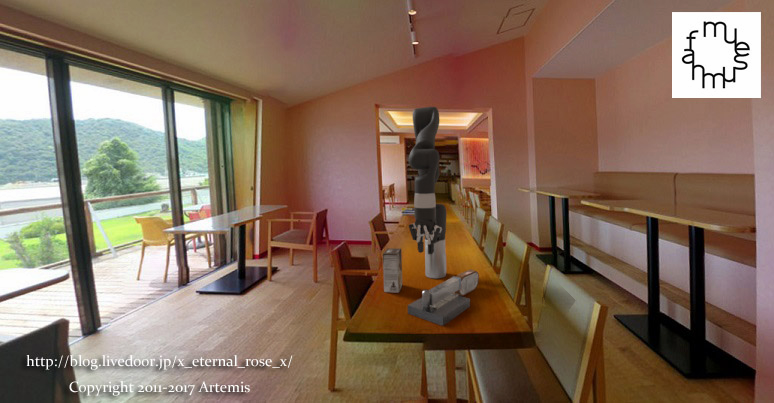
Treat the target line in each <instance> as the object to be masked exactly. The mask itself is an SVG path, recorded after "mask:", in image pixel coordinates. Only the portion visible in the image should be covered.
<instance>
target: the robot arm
mask: <svg viewBox="0 0 774 403" xmlns="http://www.w3.org/2000/svg"><path fill="white" fill-rule="evenodd" d="M439 112H440V111H439V110H438V108H437V106H427V107H418V108H415V109H414V110H412V124H413V131H414V137H415V138H414V139H415V145H414V146H413V148H412V149H411V151H410V153H409V156H408V165H409V166H410V167H411V168H412V169H413V170H417V172H418V176H417V177H415V178H414V199H413V200H414V202H413V203H414V206H413V207H414V208H413V209H414V213H413V214H414V220H415V221H414V223H410V224H408V229H409V231H410V234H411V237H412V240H413V241H415V242H416V243H417V251H418V253H420V254H421V253H423V252H424V261H425V262H424V264H425V266H424V268H425V271H424V272H425V276H426V277H427V278H429V279H443V278H445V277H446V276H447V254H446V232H447V208H446V206H445V205H444V204H443V203H436V202H437V201H436V194H435V193H436V190H435V189H436V188H435V185H436V183H437V182H438V180H439V177H440V153H439V152H438V150H437V149H435V147H436V144H435V143H436V141H435V140H436V137H437V133H438V129H439V127H440V113H439Z"/></svg>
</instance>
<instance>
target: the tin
mask: <svg viewBox="0 0 774 403" xmlns="http://www.w3.org/2000/svg"><path fill="white" fill-rule="evenodd" d="M479 276H480V273H479V272H478V271H476V270H474V269H468V270H465V271H463V272H460V273H459V274H457V276H456V277H459V278H461V289H460V290H458V291H456V292H454V294H458V295H459V296H462V297H464V296H466V295H467V294H469V293H472V292H474V291H475V290H476V289H477V287H478V285H479V280H480V277H479Z"/></svg>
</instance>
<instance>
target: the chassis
mask: <svg viewBox="0 0 774 403" xmlns="http://www.w3.org/2000/svg"><path fill="white" fill-rule="evenodd" d="M429 290H430V289H423V290H422V291H421V295H422V296H421V297H420V298H418V299H416V300H414V301H413V302H411V303H410V304H409V303H408V305H407V314H408V315H411V316H414V317H417V318H418V319H419V318H420V319H422V320H425V321H428V322H429V323H433V324H436V325H439V326H442V327H443V326H445V325H446V324H448V323H450V322H451V321H452V320H454V319H455V318H456V317H458V316H459V315H461V314H462V313H463V312H464V311H466V310H467V309H469V308H470V306H471V298H469V297H466V296H461V295H458V294H455V293H453V294H451V295H450V296H448V297H446V298H445V299H443V300H441V301H440V302H438V303H437V304H435V305H433V306H431V305H430V291H429Z"/></svg>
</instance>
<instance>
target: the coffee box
mask: <svg viewBox="0 0 774 403" xmlns="http://www.w3.org/2000/svg"><path fill="white" fill-rule="evenodd" d="M402 256H403V255H402V248H390V247H389V248H386V249H385V251H384V252H383V253H382V267H383V269H382V270H383V291H384V293H395V294H396V293H397V294H398V293H400V291H401V289H402V286H403V265H402V264H403V262H402V261H403V260H402V258H403V257H402Z"/></svg>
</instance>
